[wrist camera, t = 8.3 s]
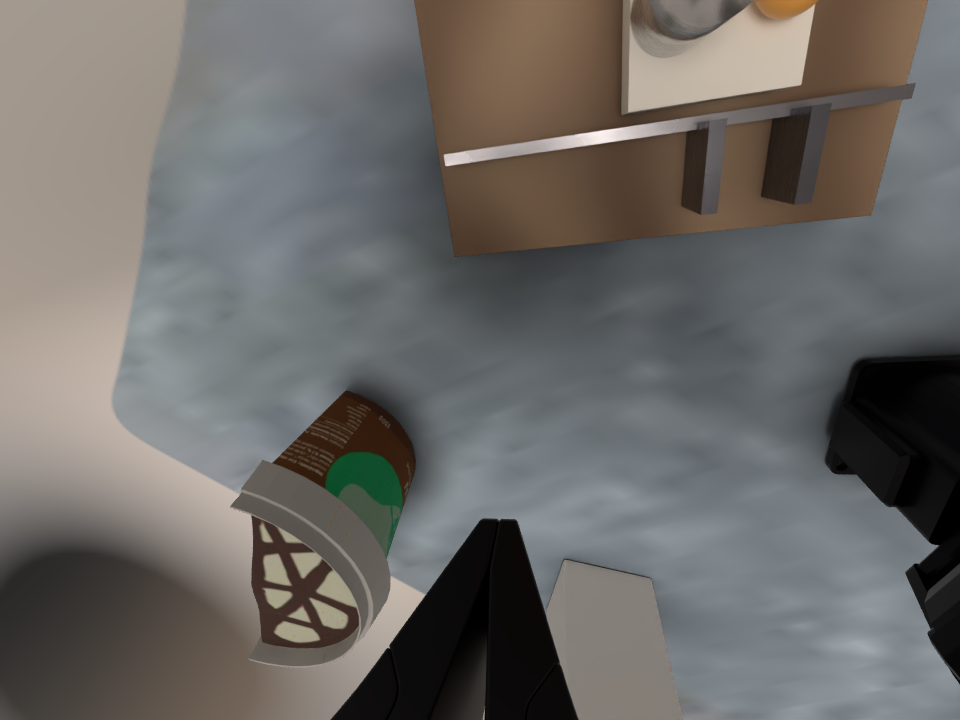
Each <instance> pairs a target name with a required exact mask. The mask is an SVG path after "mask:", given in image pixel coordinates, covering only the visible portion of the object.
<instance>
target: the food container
mask: <svg viewBox="0 0 960 720" xmlns="http://www.w3.org/2000/svg"><path fill="white" fill-rule="evenodd" d="M415 464H416V459H415V452H414V449H413V446H412V443H411V441H410V439H409V437H408V435H407V433H406V432H405V430H404V429H403V428H402V426H401V425H400V424H399V423H398V422H397V421H396V420H395V418H394V417H393V416H392V415H390V414H389V413H388V412H387V411H386V410H384V409H383V408H382V407H380V406H379V405H377V404H375V403H374V402H372V401H371V400H369V399H366V398H364V397H362V396H360V395H358V394H354V393H351V392H348V391H345V392H344V393H343V394H342V395H341V396H340V397H339V398H338V399H337V400H336V401H335V402H334V403H333V404H332V405H331V406H330V407H329V408H328V409H327V410H326V411H325V412H324V413H323V414H322V415H321V416H320V417H319V418H317V419H316V420H315V421H314V422H313V423H312V424H311V425H310V426H309V427H308V428H307V429H306V430H305V431H304V432H303V433H302V434H301V435H300V436H299V437H298V438H297V439H296V440H295V441H294V442H293V443H292V444H291V445H290V446H289V447H288V448H287V449H286V450H285V451H284V452H283V453H282V454H281V455H280V456H279V457H278V458H277V459H276V460H275V461H274V462H273V463H270V462H267V461H264V460H263V461H262V462H261V463H260V465H259V466H258V467H257V469H256V470H255V471H254V473H253V474H252V475H251V477H250V478H249V479H248V481H247V482H246V483H245V485H244V486H243V487H242V489H241V492H242V493H241V494H240V496H239V497H238V498H237V499H236V500H235V501H234V503H233V504H232V505H231V506H230V507H231V508H233V509H236V510H239V511H241V512H244V513H247V514H250V515H251V517H252V524H253V525H252V526H253V558H252V581H251V583H252V588H253V593H254V596H255V598H256V601H257V603H258V608H259V612H260V623H261V637H260V639H259V641H258V643H257V645H256V646H255V648H254V650H253V652H252V653H251V655H250V657H249V660H252V661H255V662H259V663H263V664H268V665H275V666H280V667H292V668H302V667H315V666H321V665H325V664H328V663H331V662H335V661H336V660H338V659H340V658H342V657H344V656H345V655H346V654H347V653H348V652H350V651H351V650H352V649H353V647H354V646H355V644H357V643H358V642H359V641H360V640H361V639H362V638H363V637H364V636H365V634H366V633H367V631H368V630H369V628H370V627H371V625H372V623H373V622H374V620H375V619H376V617H377V615H378V614H379V612H380V611H381V609H382V607H383V606H384V604H385V602H386V601H387V598H388V594H389V591H390V572H389V566H388V562H387V560H386V559H387V556H388V553H389V549H390V546H391V543H392V540H393V537H394V534H395V531H396V528H397V525H398V522H399V519H400V515H401V512H402V509H403V506H404V503H405V500H406V497H407V494H408V491H409V488H410V484H411V481H412V478H413V475H414V472H415Z"/></svg>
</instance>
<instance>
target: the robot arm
mask: <svg viewBox="0 0 960 720" xmlns="http://www.w3.org/2000/svg"><path fill="white" fill-rule="evenodd" d="M869 368H872V370H871V371H870V372H868V373H865V372H866V370H868V369H869ZM830 446H831V447H830V450H829V454H828V457H827V461H826V465H827V466H828V468H829V469H830V470H831V471H832V472H833V473H835V474H851V475H857V476H858V477H859V478H860V479H861V480H862V481H863V482H864V483H865V484H866V485H867V486H868V488H869V489H870V490H871V491H872V492H873V493H874V494H875V495H876V496H877V497H878V498H879V499H880V501H881V502H883V503H884V504H885V505H886V506H888V507H896V508H897V509H898V510H899V511H900V512H901V513H902V514H903V515H904V516H905V517H906V518H907V519H908V520H909V521H910V522H911V523H912V524H913V525H914V527H915V528H916V529H917V530H918V531H919V532H920V533H921V534H922V535H923V536H924V537H925V538H926V539H927V540H928V541H929V542H930V543H931V544H934V545H939V546H938V547H937V548H936V549H935V550H934V551H933V552H932V553H930V554H929V555H928V556H927V557H926V558H925V559H924V560H923V561H922V562H921V563H920V564H914V565H913V566H912V567H910V568H909V569H908V570H907V571H906V572H905V573H906V576H907V578H908V580H909V583H910V585H911V587H912V589H913V591H914V594H915V596H916V598H917V600H918V602H919V605H920V607H921V609H922V611H923V613H924V616H925V618H926V620H927V622H928V624H929V627H930V629H931V630H929V631H928V633H927V634H928V636H929V639H930V641H931V643H932V645H933V646H934V648H935V649H936V651H937V652H938V654H939V655H940V657H941V658H942V659H943V661H944V662H945V664H946V665H947V666H948V667H949V669H950V671H951V672H952V674H953V676H954V677H955V678H956V680H957V681H958V682H959V684H960V355H952V356H928V357H903V358H879V359H866V360H862V361H860V362H859V363H857V364H856V365H855V367H854V369H853V372H852V375H851V379H850V382H849V385H848V389H847V392H846V396H845V399H844V402H843V404H842V405H841V407H840V411H839V414H838V417H837V421H836V424H835V428H834V431H833V435H832V438H831V442H830ZM840 463H842V464H840ZM838 464H840V465H838ZM484 707H485V720H579V719H578V716H577V713H576V710H575V707H574V704H573V701H572V698H571V695H570V692H569V689H568V686H567V683H566V680H565V676H564V673H563V670H562V666H561V665H560V660H559V657H558V654H557V650H556V647H555V644H554V640H553V637H552V634H551V631H550V627H549V624H548V621H547V617H546V614H545V611H544V607H543V604H542V601H541V597H540V594H539V591H538V588H537V584H536V581H535V578H534V574H533V571H532V568H531V564H530V561H529V558H528V554H527V551H526V548H525V545H524V541H523V538H522V535H521V531H520V528H519V525H518V522H517V520H515V519H501V520H500V521H499V520H498V519H486V518H484V519H481V520H480V521H479V523H478V524H477V525H476V527H475V528H474V529H473V531H472V532H471V534H470V535H469V536H468V538H467V539H466V540H465V542H464V543H463V545H462V546H461V547H460V549H459V550H458V551H457V553H456V554H455V556H454V557H453V558H452V560H451V561H450V562H449V564H448V565H447V567H446V568H445V569H444V571H443V572H442V573H441V575H440V576H439V578H438V579H437V580H436V582H435V583H434V584H433V586H432V587H431V589H430V590H429V591H428V593H427V594H426V595H425V597H424V598H423V600H422V601H421V602H420V604H419V605H418V607H417V608H416V609H415V611H414V612H413V613H412V615H411V616H410V618H409V619H408V620H407V622H406V623H405V624H404V626H403V627H402V628H401V630H400V631H399V633H398V634H397V635H396V637H395V638H394V640H393V641H392V642H391V644H390V649H389V648H387V649H386V650H385V652H384V653H383V654H382V656H381V657H380V659H379V660H378V661H377V663H376V664H375V665H374V667H373V668H372V669H371V671H370V672H369V673H368V675H367V676H366V677H365V678H364V680H363V681H362V682H361V684H360V685H359V686H358V688H357V689H356V690H355V691H354V693H353V694H352V695H351V696H350V697H349V699H348V700H347V701H346V702H345V703H344V705H343V706H342V707H341V708H340V709H339V710H338V712H337V713H336V714H335V715H334V716H333V717H332V719H331V720H482V719H483V713H484Z"/></svg>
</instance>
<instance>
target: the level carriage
mask: <svg viewBox="0 0 960 720" xmlns="http://www.w3.org/2000/svg"><path fill="white" fill-rule="evenodd" d="M818 1H819V0H623V25H622V97H621V116H622V115H628V114H635V113H641V112H648V111H654V110H660V109H667V108H673V107H679V106H686V105H692V104H698V103H705V102H711V101H718V100H724V99H730V98H737V97H743V96H749V95H756V94H762V93H768V92H775V91H779V90H783V89H787V88H791V87H795V86H799V85H801V83H802V78H803V72H804V66H805V60H806V55H807V49H808V43H809V37H810V31H811V26H812V20H813V14H814V8H815V3H817V2H818Z"/></svg>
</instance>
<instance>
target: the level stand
mask: <svg viewBox="0 0 960 720" xmlns="http://www.w3.org/2000/svg"><path fill="white" fill-rule="evenodd" d="M414 2H415V8H416V14H417V21H418V27H419V33H420V40H421V46H422V52H423V59H424V65H425V71H426V78H427V84H428V90H429V97H430V103H431V109H432V116H433V122H434V128H435V135H436V141H437V147H438V154H439V160H440V166H441V173H442V179H443V185H444V192H445V198H446V204H447V211H448V217H449V223H450V230H451V236H452V242H453V249H454V255H455V257H460V256H470V255H480V254H490V253H500V252H510V251H520V250H530V249H540V248H550V247H560V246H570V245H580V244H590V243H600V242H610V241H620V240H630V239H640V238H650V237H660V236H670V235H679V234H689V233H699V232H709V231H719V230H729V229H739V228H749V227H759V226H769V225H779V224H789V223H799V222H809V221H819V220H829V219H839V218H849V217H859V216H869V215H871V214H872V211H873V207H874V203H875V199H876V196H877V192H878V188H879V184H880V181H881V177H882V173H883V169H884V166H885V162H886V158H887V154H888V150H889V147H890V143H891V139H892V135H893V132H894V128H895V124H896V120H897V117H898V113H899V109H900V105H901V101H902V100H903V99H910V98H912V95H913V91H914V87H915V84H916V83H913V84H906V83H907V79H908V75H909V71H910V68H911V64H912V60H913V56H914V53H915V49H916V45H917V41H918V37H919V34H920V30H921V26H922V22H923V19H924V15H925V11H926V7H927V4H928V0H819V1H818V2H817V3H815V8H814V14H813V20H812V26H811V31H810V37H809V43H808V49H807V55H806V60H805V66H804V72H803V78H802V83H801V85H799V86H795V87H791V88H787V89H783V90H779V91H775V92H768V93H762V94H756V95H749V96H743V97H737V98H730V99H724V100H718V101H711V102H705V103H698V104H692V105H686V106H679V107H673V108H667V109H660V110H654V111H648V112H641V113H635V114H628V115H622V116H621V97H622V25H623V0H414Z"/></svg>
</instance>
